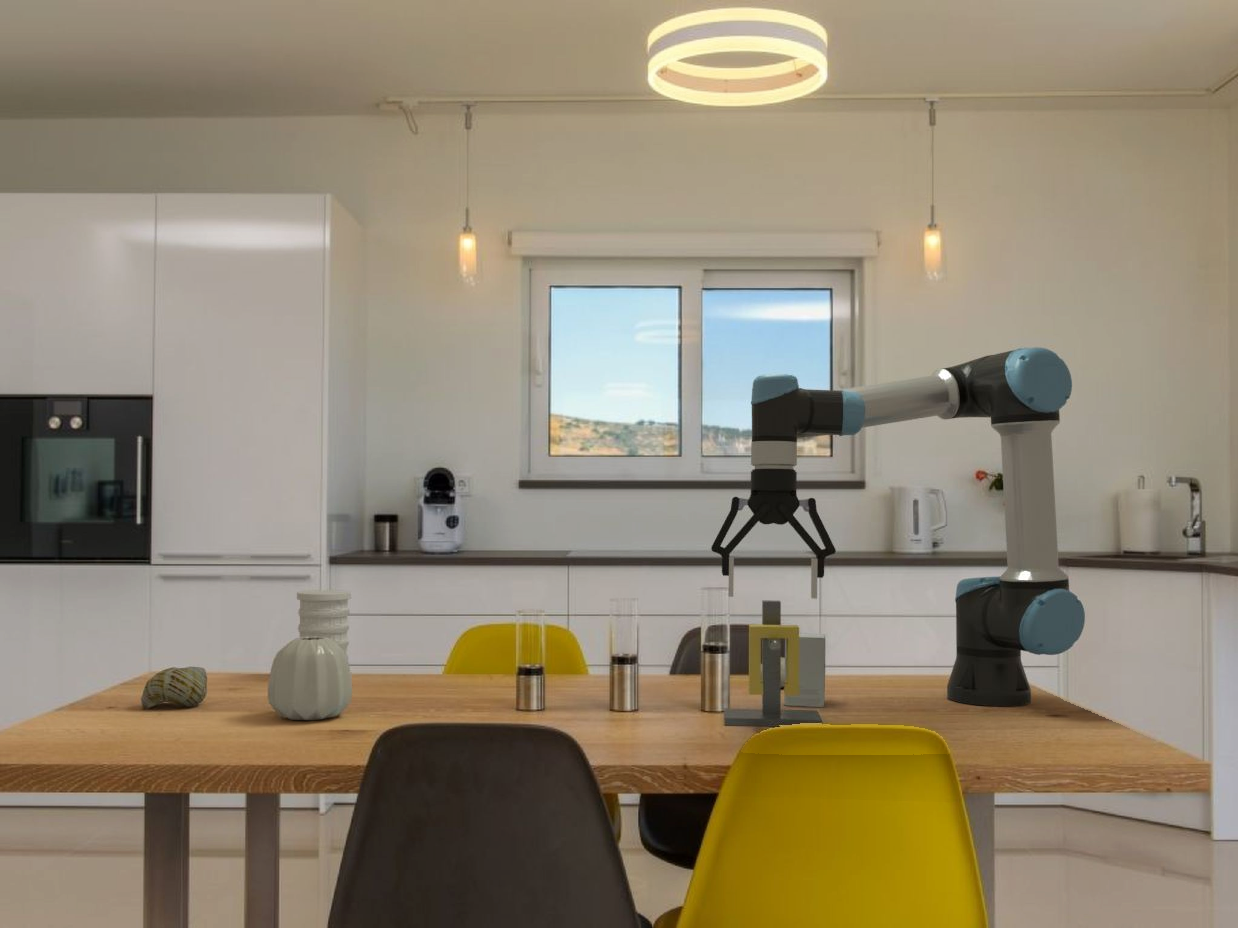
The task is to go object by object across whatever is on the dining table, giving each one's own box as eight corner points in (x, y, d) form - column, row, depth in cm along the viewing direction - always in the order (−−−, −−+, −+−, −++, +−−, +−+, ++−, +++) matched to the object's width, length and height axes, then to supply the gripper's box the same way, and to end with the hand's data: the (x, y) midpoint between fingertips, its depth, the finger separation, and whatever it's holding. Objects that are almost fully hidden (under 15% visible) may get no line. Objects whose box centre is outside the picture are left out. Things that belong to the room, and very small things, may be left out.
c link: (797, 691, 188) (797, 625, 188) (799, 695, 184) (799, 627, 185) (748, 690, 189) (749, 624, 189) (749, 694, 185) (749, 626, 186)
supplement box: (824, 707, 205) (824, 637, 206) (783, 705, 207) (783, 636, 207) (825, 700, 213) (825, 633, 213) (785, 699, 214) (786, 631, 214)
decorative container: (307, 674, 240) (308, 589, 241) (359, 676, 239) (361, 590, 239) (283, 683, 229) (285, 593, 229) (338, 684, 227) (340, 594, 228)
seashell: (126, 703, 200) (151, 650, 205) (172, 722, 207) (196, 670, 211) (154, 707, 194) (179, 652, 198) (201, 726, 200) (225, 673, 204)
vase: (263, 712, 196) (265, 635, 197) (345, 707, 202) (346, 632, 202) (272, 727, 184) (274, 644, 184) (359, 721, 189) (360, 640, 190)
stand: (817, 717, 196) (817, 600, 196) (826, 736, 179) (826, 609, 180) (724, 715, 197) (724, 599, 198) (725, 734, 181) (725, 607, 181)
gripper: (847, 470, 191) (846, 596, 190) (698, 468, 193) (696, 593, 192) (853, 468, 183) (851, 600, 182) (697, 466, 185) (696, 596, 184)
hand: (772, 597), depth 187 cm, fingers open, 13 cm apart
